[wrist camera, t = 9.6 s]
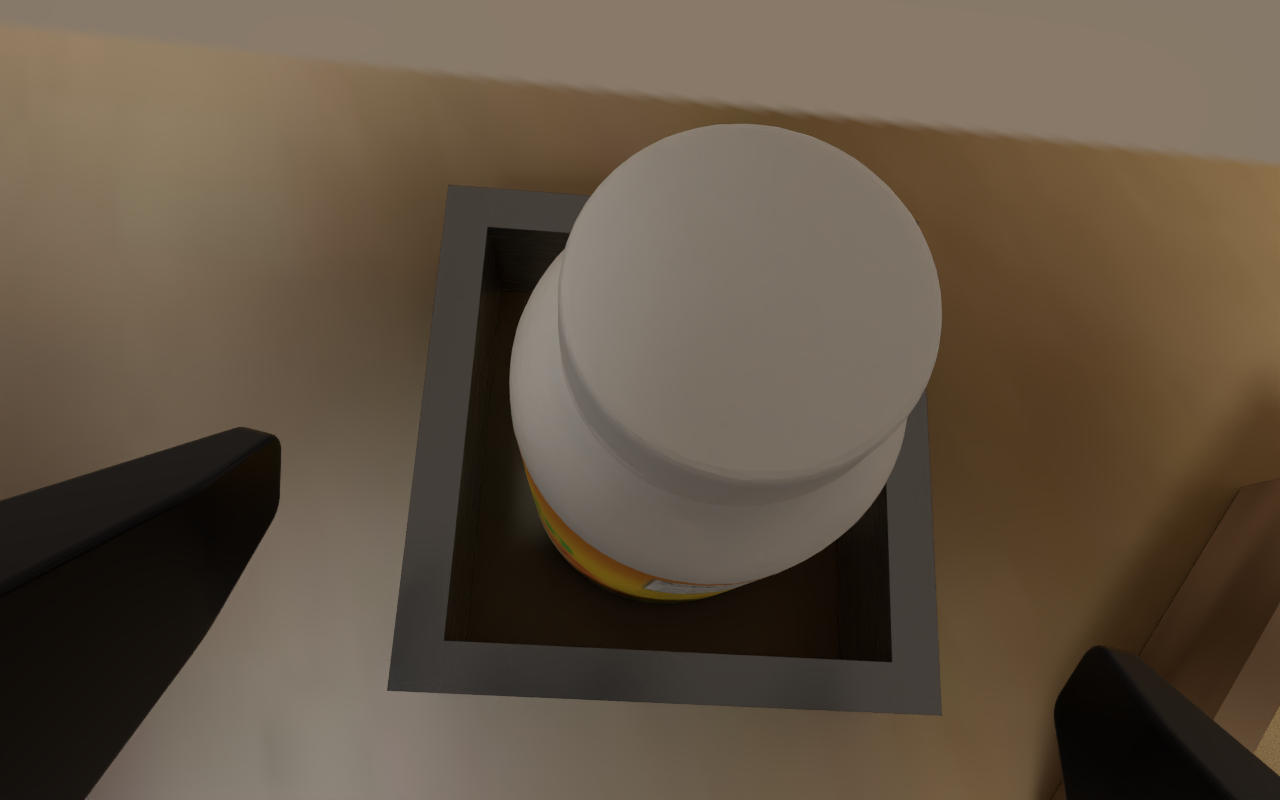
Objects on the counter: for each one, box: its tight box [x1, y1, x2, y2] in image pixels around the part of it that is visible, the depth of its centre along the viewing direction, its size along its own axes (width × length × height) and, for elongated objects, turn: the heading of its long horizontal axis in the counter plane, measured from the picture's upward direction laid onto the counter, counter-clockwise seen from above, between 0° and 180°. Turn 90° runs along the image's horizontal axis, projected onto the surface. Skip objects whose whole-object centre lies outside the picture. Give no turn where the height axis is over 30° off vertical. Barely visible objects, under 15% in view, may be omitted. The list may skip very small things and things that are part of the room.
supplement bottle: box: [509, 124, 942, 603], centre depth 13 cm, size 5×5×10 cm
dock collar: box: [387, 185, 942, 716], centre depth 16 cm, size 9×9×4 cm
